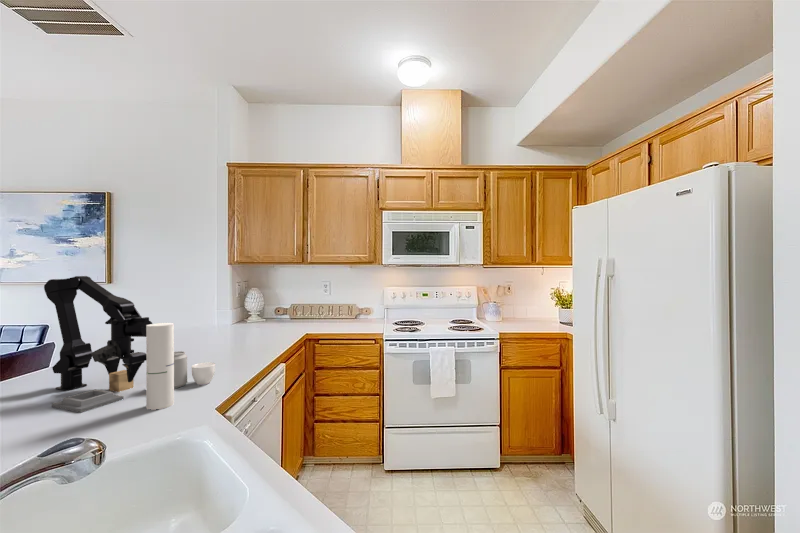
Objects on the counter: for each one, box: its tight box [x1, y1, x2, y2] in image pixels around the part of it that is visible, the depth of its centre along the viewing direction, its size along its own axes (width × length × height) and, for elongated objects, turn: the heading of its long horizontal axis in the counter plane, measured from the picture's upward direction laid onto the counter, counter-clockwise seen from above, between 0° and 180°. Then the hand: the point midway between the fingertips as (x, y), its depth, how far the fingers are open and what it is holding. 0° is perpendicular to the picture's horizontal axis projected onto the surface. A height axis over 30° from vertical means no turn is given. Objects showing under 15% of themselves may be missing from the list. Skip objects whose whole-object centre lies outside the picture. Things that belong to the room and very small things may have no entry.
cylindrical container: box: [145, 322, 175, 411], centre depth 115 cm, size 7×7×25 cm
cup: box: [191, 361, 216, 386], centre depth 138 cm, size 8×10×7 cm
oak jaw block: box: [108, 369, 135, 393], centre depth 132 cm, size 5×5×6 cm
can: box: [174, 350, 188, 389], centre depth 135 cm, size 8×8×12 cm
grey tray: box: [51, 389, 124, 414], centre depth 118 cm, size 14×12×2 cm
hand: (121, 380), depth 132 cm, fingers open, 9 cm apart
